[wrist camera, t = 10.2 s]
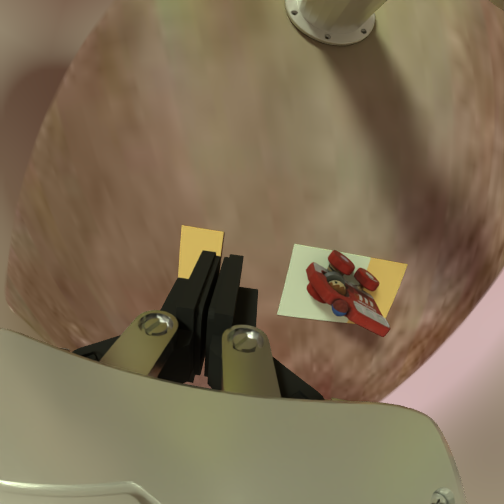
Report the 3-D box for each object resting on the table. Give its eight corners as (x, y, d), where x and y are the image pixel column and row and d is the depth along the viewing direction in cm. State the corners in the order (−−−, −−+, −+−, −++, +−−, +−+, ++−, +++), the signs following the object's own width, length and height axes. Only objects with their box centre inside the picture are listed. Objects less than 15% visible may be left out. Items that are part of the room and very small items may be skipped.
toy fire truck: (320, 239, 39) (338, 272, 30) (381, 279, 41) (407, 316, 32) (293, 277, 42) (301, 318, 32) (354, 311, 44) (373, 353, 34)
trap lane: (182, 225, 39) (181, 225, 39) (406, 264, 40) (407, 264, 40) (177, 297, 44) (177, 297, 44) (381, 325, 45) (381, 326, 45)
